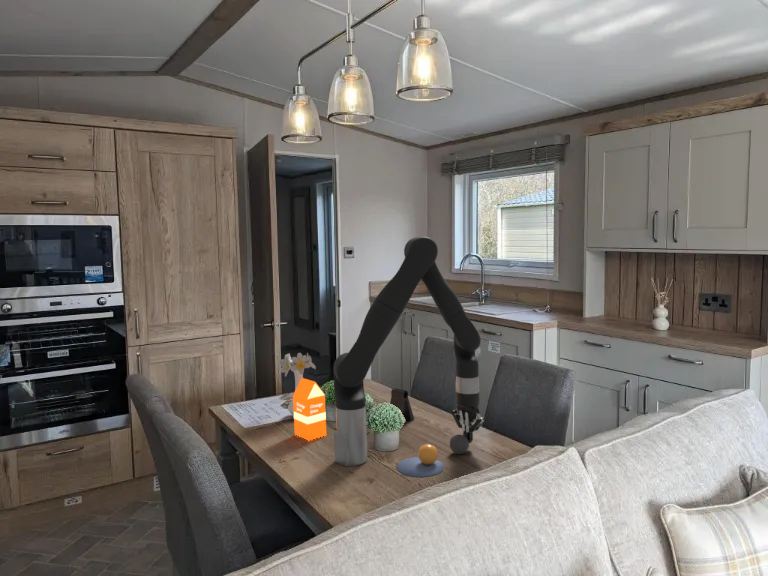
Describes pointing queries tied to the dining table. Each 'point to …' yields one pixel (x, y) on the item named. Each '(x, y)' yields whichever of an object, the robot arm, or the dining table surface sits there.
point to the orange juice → (309, 410)
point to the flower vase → (295, 370)
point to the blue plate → (419, 467)
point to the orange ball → (428, 454)
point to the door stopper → (402, 403)
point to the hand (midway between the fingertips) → (468, 442)
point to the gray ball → (459, 444)
